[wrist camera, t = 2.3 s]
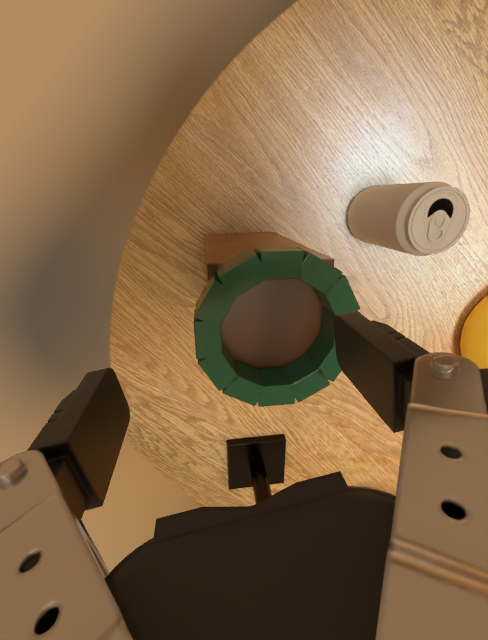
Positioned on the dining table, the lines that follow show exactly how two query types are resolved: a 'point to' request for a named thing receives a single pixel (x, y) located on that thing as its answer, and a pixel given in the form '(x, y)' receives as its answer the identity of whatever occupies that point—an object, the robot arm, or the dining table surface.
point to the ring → (300, 373)
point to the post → (256, 463)
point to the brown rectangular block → (266, 306)
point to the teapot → (476, 335)
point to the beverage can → (410, 217)
